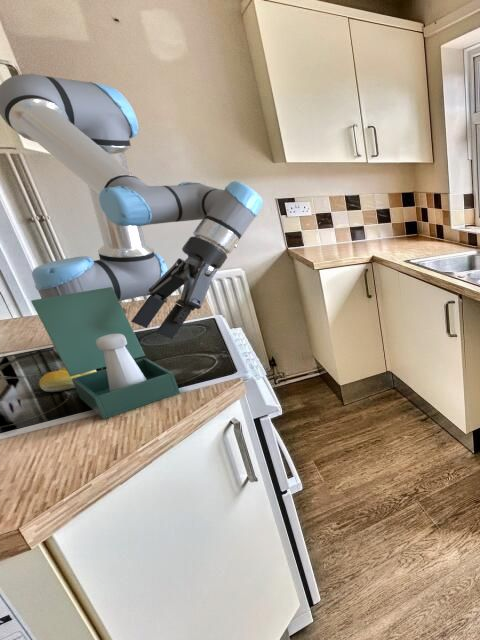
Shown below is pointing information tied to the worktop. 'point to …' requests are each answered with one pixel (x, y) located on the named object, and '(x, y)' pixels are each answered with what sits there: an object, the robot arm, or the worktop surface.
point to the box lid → (85, 327)
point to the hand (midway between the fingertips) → (150, 330)
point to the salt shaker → (119, 362)
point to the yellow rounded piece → (59, 380)
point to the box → (125, 389)
